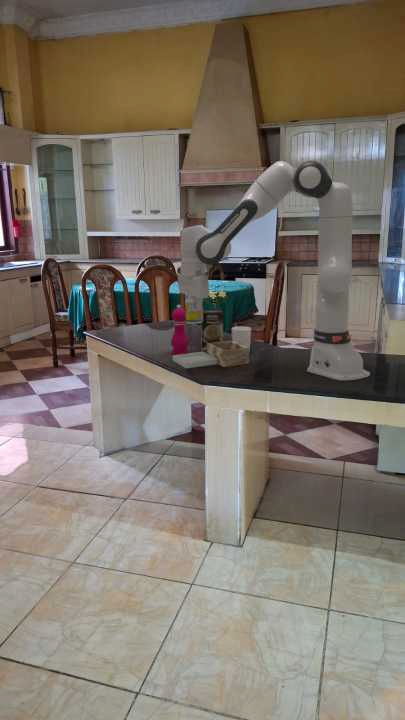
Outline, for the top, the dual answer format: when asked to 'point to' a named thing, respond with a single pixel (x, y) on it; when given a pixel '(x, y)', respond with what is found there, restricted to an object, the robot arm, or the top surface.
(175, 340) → the pepper mill
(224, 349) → the beech box
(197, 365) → the sage tray
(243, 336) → the white cup
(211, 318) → the coffee box
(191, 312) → the pill bottle
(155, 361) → the top surface
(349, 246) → the robot arm
